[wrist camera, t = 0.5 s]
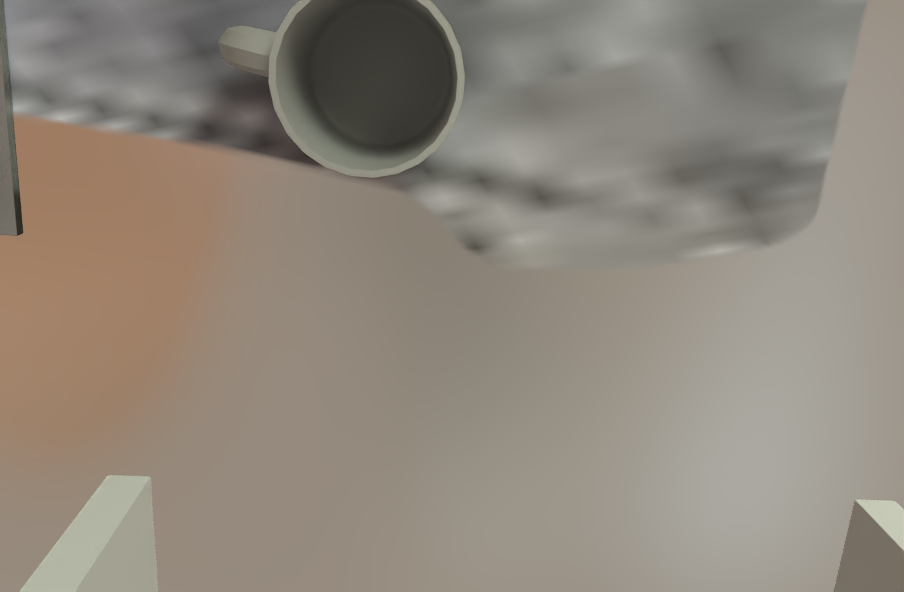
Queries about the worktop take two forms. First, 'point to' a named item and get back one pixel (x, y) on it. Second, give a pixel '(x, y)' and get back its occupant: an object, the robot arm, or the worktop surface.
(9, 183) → the rail
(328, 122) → the cup
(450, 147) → the worktop surface
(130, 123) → the worktop surface
